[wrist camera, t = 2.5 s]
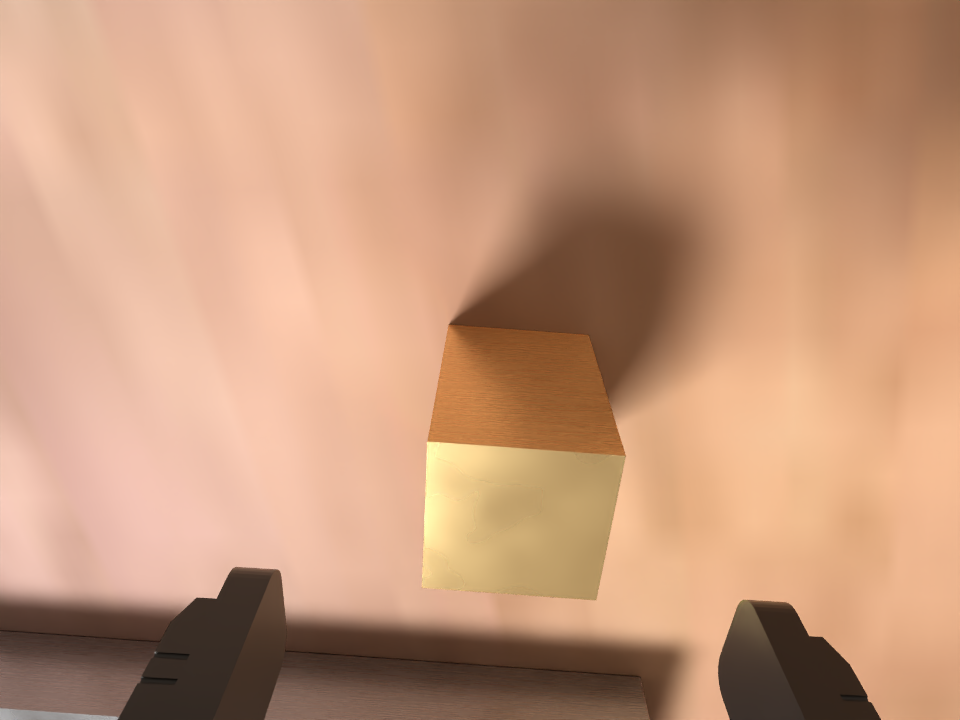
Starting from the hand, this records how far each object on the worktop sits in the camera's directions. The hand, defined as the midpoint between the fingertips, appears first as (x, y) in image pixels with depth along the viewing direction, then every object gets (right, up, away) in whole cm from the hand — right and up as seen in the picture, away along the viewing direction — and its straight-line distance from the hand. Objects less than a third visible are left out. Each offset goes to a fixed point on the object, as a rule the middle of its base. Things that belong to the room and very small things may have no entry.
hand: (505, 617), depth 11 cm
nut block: (0, +4, +8) cm, 9 cm away
